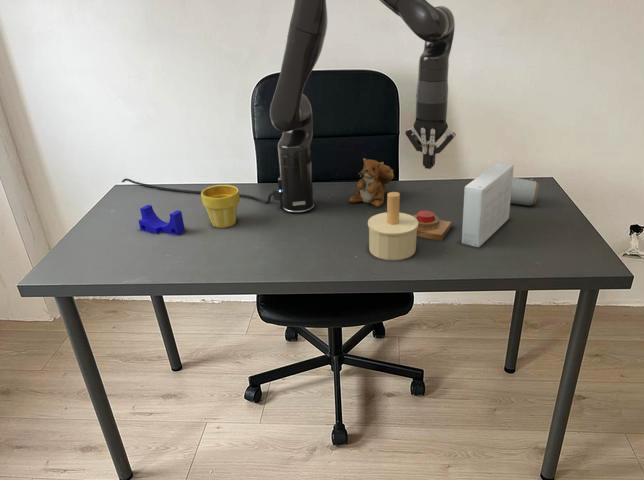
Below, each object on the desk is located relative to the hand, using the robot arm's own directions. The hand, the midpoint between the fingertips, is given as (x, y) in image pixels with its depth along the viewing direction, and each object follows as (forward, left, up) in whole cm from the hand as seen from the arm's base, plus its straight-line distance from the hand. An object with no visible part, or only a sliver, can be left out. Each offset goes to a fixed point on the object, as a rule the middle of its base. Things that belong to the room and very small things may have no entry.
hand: (428, 167), depth 140 cm
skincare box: (+15, +6, -18) cm, 24 cm away
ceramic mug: (+20, +30, -18) cm, 40 cm away
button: (0, 0, -15) cm, 15 cm away
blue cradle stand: (-67, -29, -18) cm, 75 cm away
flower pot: (-54, -18, -18) cm, 60 cm away
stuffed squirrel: (-22, +15, -18) cm, 32 cm away
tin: (-4, -14, -18) cm, 23 cm away
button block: (0, 0, -18) cm, 18 cm away
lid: (-4, -14, -11) cm, 18 cm away
